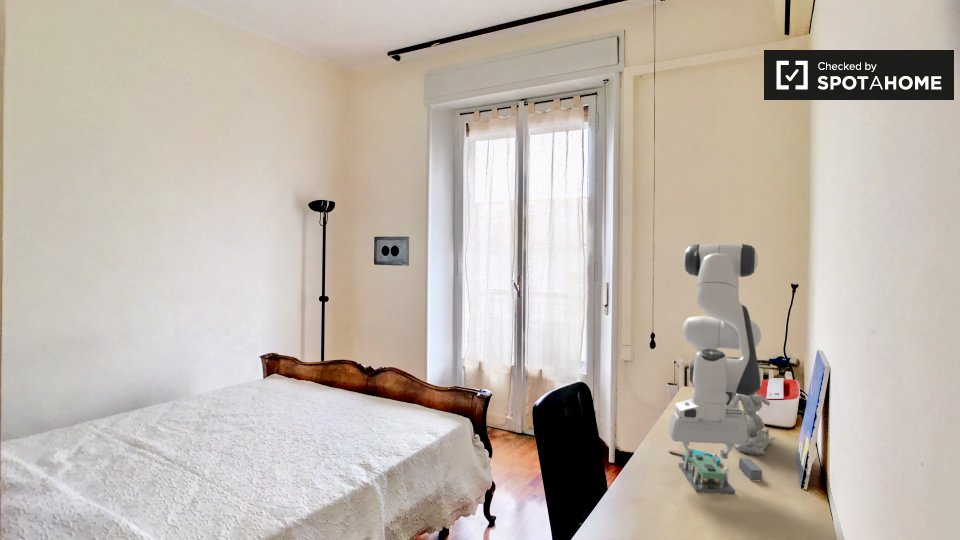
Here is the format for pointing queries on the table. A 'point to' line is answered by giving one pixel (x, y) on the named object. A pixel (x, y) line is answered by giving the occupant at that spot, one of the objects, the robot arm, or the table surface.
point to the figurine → (753, 424)
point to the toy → (695, 452)
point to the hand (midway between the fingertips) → (706, 457)
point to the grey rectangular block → (750, 469)
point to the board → (707, 467)
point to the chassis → (703, 483)
